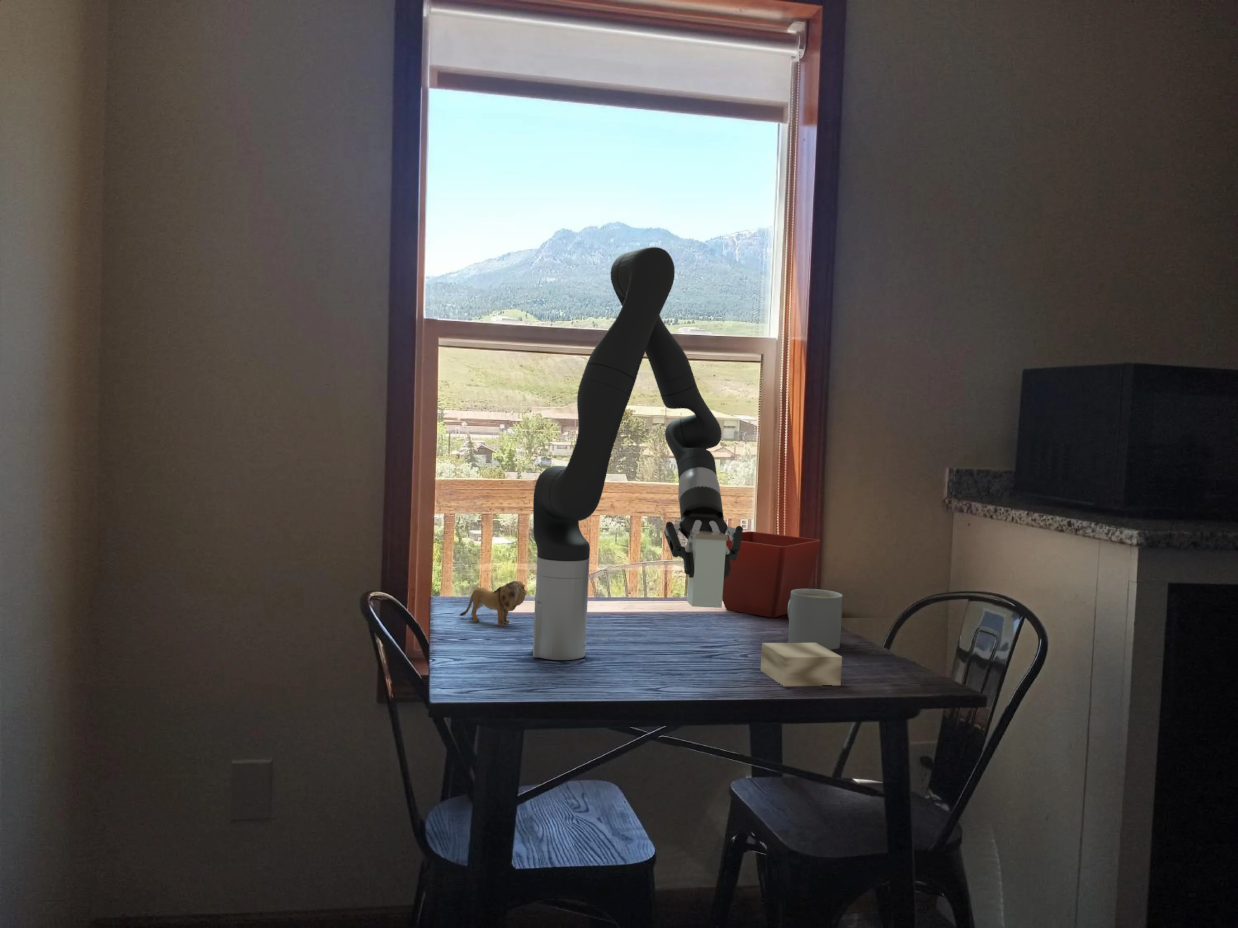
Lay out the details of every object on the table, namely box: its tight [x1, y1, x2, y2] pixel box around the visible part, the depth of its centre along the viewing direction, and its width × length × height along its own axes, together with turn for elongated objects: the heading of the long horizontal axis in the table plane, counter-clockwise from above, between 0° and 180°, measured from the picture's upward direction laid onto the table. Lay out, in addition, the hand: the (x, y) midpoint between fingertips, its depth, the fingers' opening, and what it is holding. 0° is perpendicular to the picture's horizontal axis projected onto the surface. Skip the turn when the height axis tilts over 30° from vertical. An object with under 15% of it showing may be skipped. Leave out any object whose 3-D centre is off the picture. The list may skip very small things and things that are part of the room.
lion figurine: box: [459, 580, 528, 627], centre depth 191 cm, size 15×5×9 cm, turn 70°
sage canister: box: [686, 531, 728, 609], centre depth 159 cm, size 5×5×12 cm
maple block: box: [760, 642, 843, 687], centre depth 159 cm, size 10×10×5 cm
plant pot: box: [722, 530, 821, 618], centre depth 217 cm, size 19×19×17 cm
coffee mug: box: [787, 588, 844, 651], centre depth 186 cm, size 13×10×10 cm
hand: (708, 575), depth 158 cm, fingers closed on sage canister, 5 cm apart
